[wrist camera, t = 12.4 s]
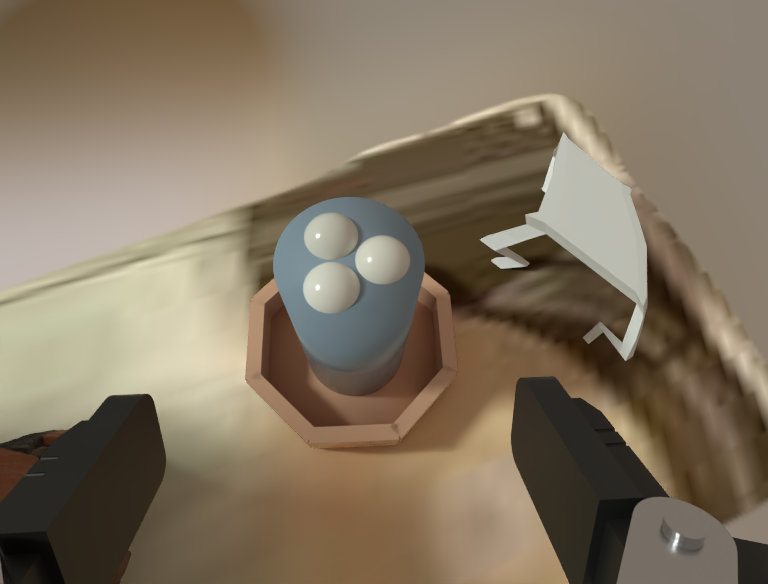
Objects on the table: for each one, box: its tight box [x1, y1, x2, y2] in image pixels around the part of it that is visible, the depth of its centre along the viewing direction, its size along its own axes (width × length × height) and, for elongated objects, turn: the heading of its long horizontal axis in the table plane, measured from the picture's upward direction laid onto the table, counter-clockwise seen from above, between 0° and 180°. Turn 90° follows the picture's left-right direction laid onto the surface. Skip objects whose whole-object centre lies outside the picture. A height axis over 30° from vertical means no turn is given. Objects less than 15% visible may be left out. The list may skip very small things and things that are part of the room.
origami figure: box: [480, 133, 647, 361], centre depth 26 cm, size 12×8×5 cm
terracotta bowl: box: [245, 272, 458, 449], centre depth 24 cm, size 10×10×2 cm
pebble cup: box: [273, 197, 425, 396], centre depth 20 cm, size 5×5×11 cm
